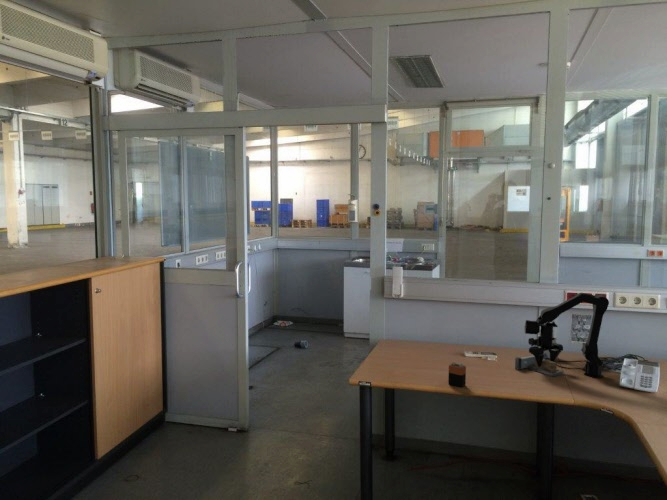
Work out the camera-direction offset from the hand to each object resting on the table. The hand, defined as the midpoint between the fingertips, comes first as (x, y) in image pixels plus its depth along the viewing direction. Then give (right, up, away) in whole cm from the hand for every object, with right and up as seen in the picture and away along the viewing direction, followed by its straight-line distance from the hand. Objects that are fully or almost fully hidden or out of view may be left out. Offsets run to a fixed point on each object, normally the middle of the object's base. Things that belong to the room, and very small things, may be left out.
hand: (545, 365), depth 253 cm
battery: (-49, -5, -20) cm, 53 cm away
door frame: (-4, -2, +8) cm, 9 cm away
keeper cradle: (0, -3, 0) cm, 3 cm away
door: (-4, -2, +7) cm, 9 cm away
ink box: (+11, -1, +25) cm, 28 cm away
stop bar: (0, -3, 0) cm, 3 cm away
